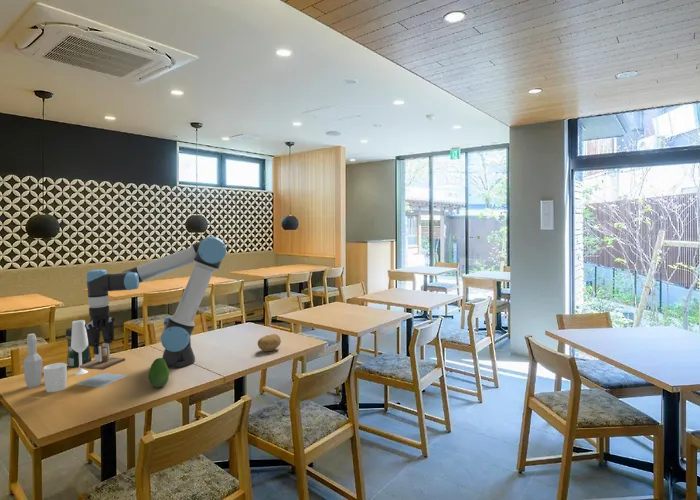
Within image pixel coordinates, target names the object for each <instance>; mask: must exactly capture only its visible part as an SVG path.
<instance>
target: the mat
mask: <svg viewBox="0 0 700 500" xmlns="http://www.w3.org/2000/svg"><path fill="white" fill-rule="evenodd" d="M126 377H128V375H126V374H117V373H107V372H101V373H99V374H96V375H94V376H92V377H89V378H87V379H84V380H82V381H80V382H77V383H76V385H79V386H87V387H95V388H96V387H97V388H104V387H105V386H106V387H107V386H108V385H111V384H113V383H116V382H117V381H119V380H121V379H124V378H126Z"/></svg>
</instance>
